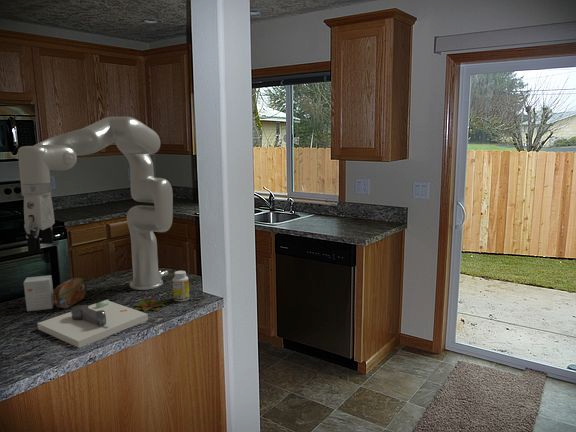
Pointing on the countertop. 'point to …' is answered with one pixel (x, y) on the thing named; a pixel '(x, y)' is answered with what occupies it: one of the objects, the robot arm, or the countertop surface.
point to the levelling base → (92, 324)
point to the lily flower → (148, 303)
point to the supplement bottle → (180, 286)
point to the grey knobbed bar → (88, 315)
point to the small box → (39, 293)
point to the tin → (69, 292)
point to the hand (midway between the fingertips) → (41, 247)
